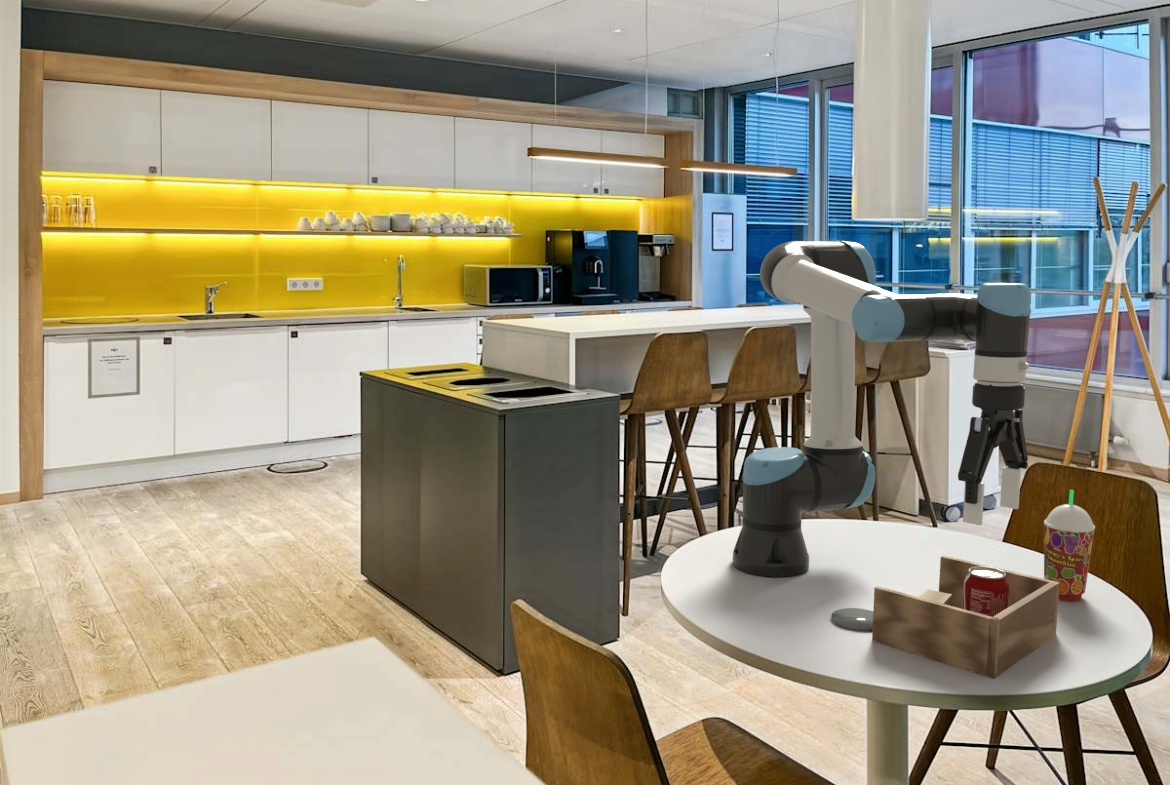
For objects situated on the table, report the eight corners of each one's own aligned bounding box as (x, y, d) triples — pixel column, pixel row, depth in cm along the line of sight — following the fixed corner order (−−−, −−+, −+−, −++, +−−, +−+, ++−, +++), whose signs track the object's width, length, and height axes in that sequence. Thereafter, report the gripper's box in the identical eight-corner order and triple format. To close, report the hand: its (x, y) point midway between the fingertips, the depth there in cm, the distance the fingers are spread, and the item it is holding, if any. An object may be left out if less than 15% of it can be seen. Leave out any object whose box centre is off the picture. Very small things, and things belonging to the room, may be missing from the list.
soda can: (1009, 653, 155) (1014, 580, 154) (964, 649, 157) (968, 577, 155) (1000, 636, 162) (1005, 566, 160) (957, 633, 163) (961, 563, 161)
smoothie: (1035, 598, 180) (1042, 491, 177) (1043, 585, 186) (1050, 482, 183) (1086, 607, 175) (1094, 498, 172) (1092, 593, 182) (1100, 488, 179)
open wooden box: (872, 640, 160) (874, 587, 159) (940, 603, 177) (943, 555, 175) (993, 678, 146) (997, 620, 145) (1055, 634, 163) (1059, 582, 161)
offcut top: (916, 616, 164) (917, 599, 163) (926, 605, 169) (927, 589, 168) (941, 622, 161) (942, 604, 161) (950, 611, 166) (951, 594, 166)
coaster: (821, 620, 169) (821, 617, 169) (849, 607, 175) (849, 604, 175) (868, 635, 162) (868, 631, 162) (895, 621, 169) (895, 617, 168)
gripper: (988, 392, 142) (980, 535, 145) (1054, 377, 159) (1046, 505, 162) (938, 387, 147) (931, 525, 150) (1008, 373, 164) (1001, 497, 167)
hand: (991, 515), depth 156 cm, fingers open, 13 cm apart
